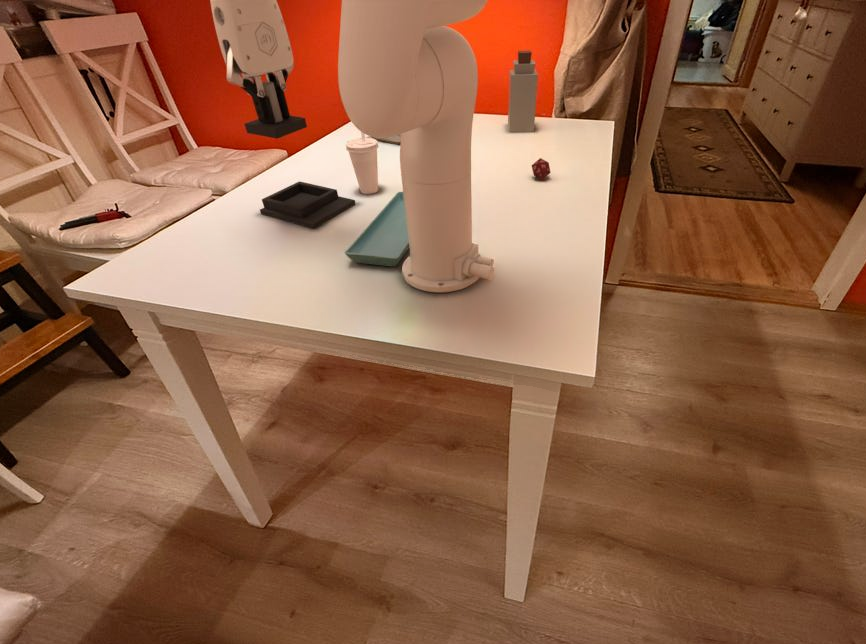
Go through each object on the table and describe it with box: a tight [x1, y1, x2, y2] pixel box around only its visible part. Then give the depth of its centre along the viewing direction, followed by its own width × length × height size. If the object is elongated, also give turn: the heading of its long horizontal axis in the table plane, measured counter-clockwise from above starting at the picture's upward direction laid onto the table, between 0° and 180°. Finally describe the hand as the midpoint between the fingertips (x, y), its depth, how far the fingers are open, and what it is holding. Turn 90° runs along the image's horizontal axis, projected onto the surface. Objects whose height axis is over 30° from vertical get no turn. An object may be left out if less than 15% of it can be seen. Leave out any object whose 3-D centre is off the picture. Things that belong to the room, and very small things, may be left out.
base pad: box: [259, 181, 356, 230], centre depth 91 cm, size 14×12×3 cm
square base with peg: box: [244, 81, 308, 139], centre depth 76 cm, size 7×7×7 cm
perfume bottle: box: [507, 49, 539, 133], centre depth 122 cm, size 7×7×18 cm
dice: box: [531, 157, 551, 181], centre depth 99 cm, size 4×4×4 cm
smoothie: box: [345, 131, 379, 195], centre depth 93 cm, size 6×6×14 cm
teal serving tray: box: [344, 191, 410, 267], centre depth 82 cm, size 26×9×2 cm, turn 167°
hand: (274, 118), depth 77 cm, fingers closed on square base with peg, 2 cm apart
